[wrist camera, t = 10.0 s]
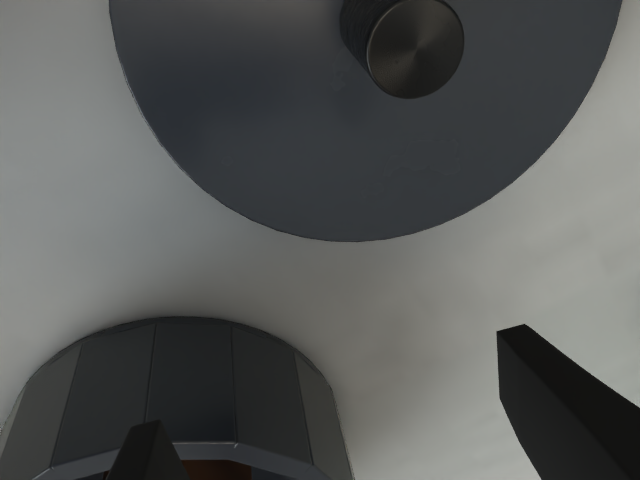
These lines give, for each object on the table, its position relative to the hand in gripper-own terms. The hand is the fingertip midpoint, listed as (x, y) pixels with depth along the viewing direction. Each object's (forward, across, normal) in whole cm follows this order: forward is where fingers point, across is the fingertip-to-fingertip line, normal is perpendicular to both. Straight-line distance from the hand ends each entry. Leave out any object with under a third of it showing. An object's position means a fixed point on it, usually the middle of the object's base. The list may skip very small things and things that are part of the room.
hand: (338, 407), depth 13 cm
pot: (+9, +7, +10) cm, 15 cm away
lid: (+9, -4, -6) cm, 11 cm away
